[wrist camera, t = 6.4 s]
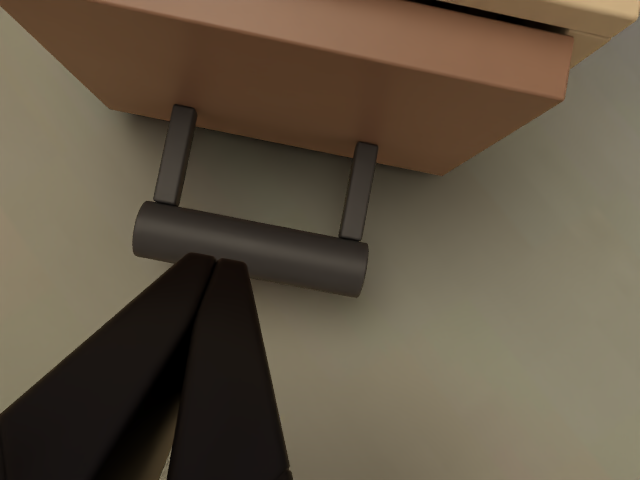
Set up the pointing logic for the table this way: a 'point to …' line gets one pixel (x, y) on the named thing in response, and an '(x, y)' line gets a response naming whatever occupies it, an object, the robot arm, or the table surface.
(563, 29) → the tan drawer box
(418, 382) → the table surface
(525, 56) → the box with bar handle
